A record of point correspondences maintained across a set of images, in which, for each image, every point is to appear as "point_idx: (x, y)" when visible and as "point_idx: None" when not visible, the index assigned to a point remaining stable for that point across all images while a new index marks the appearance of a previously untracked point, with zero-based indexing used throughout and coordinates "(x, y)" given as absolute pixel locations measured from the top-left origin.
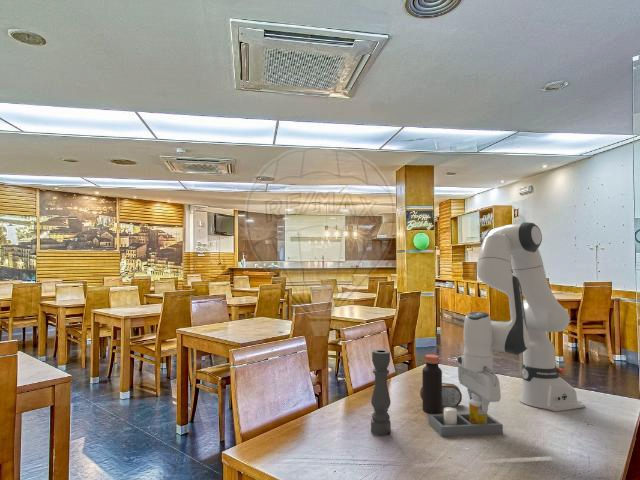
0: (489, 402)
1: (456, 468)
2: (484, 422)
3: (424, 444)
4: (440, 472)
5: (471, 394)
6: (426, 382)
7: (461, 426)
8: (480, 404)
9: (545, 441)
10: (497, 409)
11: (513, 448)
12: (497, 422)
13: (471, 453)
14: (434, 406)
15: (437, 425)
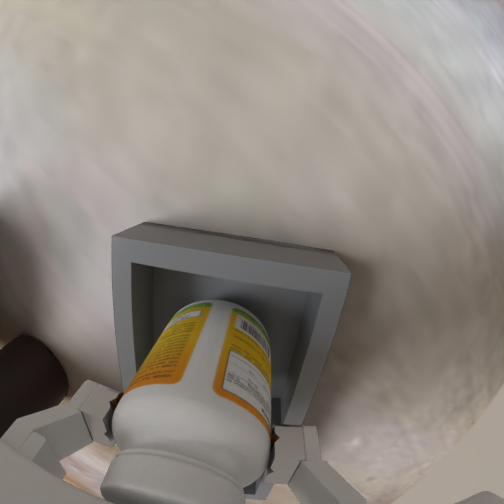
0: (353, 488)
1: (410, 475)
2: (270, 359)
3: (283, 497)
4: (400, 493)
5: (69, 442)
6: None
7: None
8: (268, 481)
9: (437, 82)
10: (34, 53)
11: (444, 298)
12: (308, 284)
13: (387, 441)
14: (50, 406)
15: None
